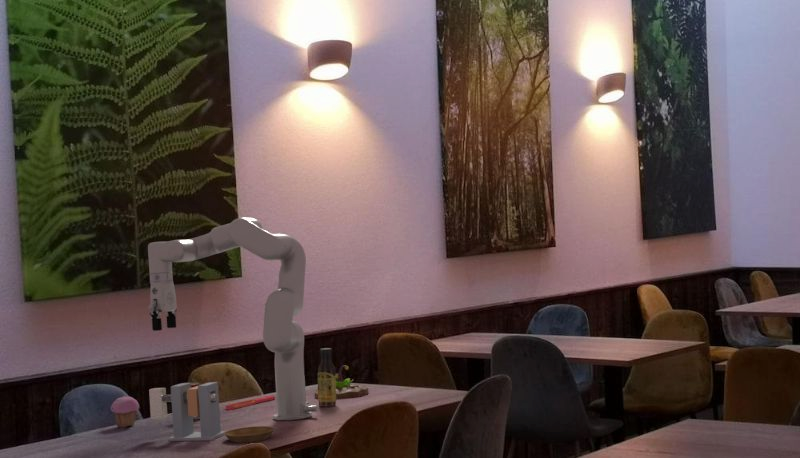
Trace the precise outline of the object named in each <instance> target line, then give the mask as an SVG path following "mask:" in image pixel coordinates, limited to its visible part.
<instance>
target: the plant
mask: <svg viewBox="0 0 800 458" xmlns="http://www.w3.org/2000/svg"><path fill="white" fill-rule="evenodd" d="M343 368H344V369H345V370H346V371H348V370H349V368H350V367H349V366H348V365H342V366H340V368H339V371H338V373H336V372H335V376H336V400H341V399H342V400H343V399H352V398H359V397H362V396H366V395H368V394H369V387H367V386H365V385H360V384H351V383H352V382H353V381H354V379H352V380H351V378H349V377H348V378H345V379H343V375H342V370H343ZM314 399H317V400H318V389H316V391H315V392H314Z"/></svg>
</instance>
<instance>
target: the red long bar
mask: <svg viewBox="0 0 800 458" xmlns="http://www.w3.org/2000/svg"><path fill="white" fill-rule="evenodd" d="M275 397H276V396H275V395H274V394H270V395H265V396H261V397H258V398H253V399H247V400H244V401H239V402H234V403H231V404H229V405H226V406H225V410H226V411H230V410H235V409H239V408H240V409H241V408H244V407H247V406H251V405H253V406H254V405H257V404H261V403H262V404H263V403H265V402H270V401H274V400H275V399H276V398H275Z"/></svg>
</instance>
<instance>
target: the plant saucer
mask: <svg viewBox="0 0 800 458" xmlns="http://www.w3.org/2000/svg"><path fill="white" fill-rule="evenodd" d="M274 432H275V427H272V426H265V425H262V426H261V425H260V426H259V425H258V426H256V425H255V426H248V427H247V426H246V427H239V428H235V429H229V430H226V432H225V433H224V434H225V435H224V436H225V437H226V438H227V439H228V440H229V441H230V442H232V443H253V442H254V443H255V442H259V441H265V440H267V439H269V438H270V437H271V435H272V434H273V433H274Z"/></svg>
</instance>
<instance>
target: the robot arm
mask: <svg viewBox="0 0 800 458" xmlns="http://www.w3.org/2000/svg"><path fill="white" fill-rule="evenodd" d="M240 247H241V248H243V249H244V250H246V251H248V252H250V253H252V254H253V255H255V256H257V257H258V258H261V259H263V260H265V261H280V264H281V265H280V268H279V272H278V284H277V289H274V290H273V291H272V292H271V293H270V294H269V295H268V296H267V298H266V301H265V304H264V315H263V331H262V338H263V344H264V346H265V348H266V349H267V350H268V351H270V352H272V353H274V378H275V379H274V381H275V394H276V396H275V397H276V410H277V411H276V412H277V413H274V414H273V415H272V419H273V420H275V421H296V420H302V419H308V418H311V417H312V416H313V415H312V414H313V412H314V413H316V412H317V413H318V411H319V407H318V406H319V405H310V402H309V401H307V394H306V380H305V379H306V378H305V359H304V354H305V352H304V351H305V350H304V349H305V348H304V347H305V332H304V330H303V328H302V326H301V325H300V324H299V323H298V322H297V321H294V320H293V319H294V317H295V316H297V315H299V314H300V313H301V312H302V310H303V307H304V297H305V296H304V295H305V283H306V282H305V279H306V278H305V277H306V267H307V262H306V261H307V260H306V256H307V255H306V252H305V250H304V247H303V245H302V244H301V243H300V241H298V239H296V238H294V237H293V236H290V235H289V234H285V233H271V232H268V231H267V230H265V229H264V228H263V225H262V223H261V222H260V221H259V220H258V219H256V218H253V217H238V218H235V219H233V220H232V221H231V222H230V223H226V224H222V225H218V226H215V227H213V228H211V231H210V232H208V233H205V234H203V235H198V236H196V237H192V238H188V239H186V238H185V239H174V240H168V241H154V242H150V243H148V245H147V254H148V255H147V256H148V269H149V271H148V272H149V284H150V295H149V296H150V297H149V298H150V299H149V300H150V301H149V302H150V304H149V305H148V306H147V307H148V310H149V315H150V319H151V326H152V331H153V332H156V331H159V332H160V331H162V329H163V324H162V318H161V315H162V313H166V315H167V316H166V327H167V329H175V328H177V318H176V316H177V310H178V302H177V295H176V289H175V284H174V278H173V277H174V276H173V263H183V262H185V263H186V262H192V261H196V260H200V259H203V258H208V257H210V256H213V255H216V254H217V255H218V254H220V253H224V252H226V251H231V250H233V249H237V248H240Z"/></svg>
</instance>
